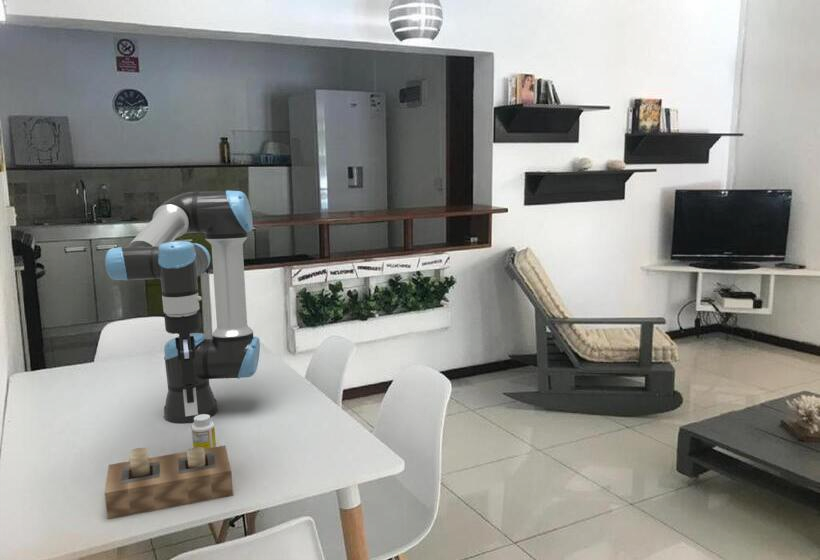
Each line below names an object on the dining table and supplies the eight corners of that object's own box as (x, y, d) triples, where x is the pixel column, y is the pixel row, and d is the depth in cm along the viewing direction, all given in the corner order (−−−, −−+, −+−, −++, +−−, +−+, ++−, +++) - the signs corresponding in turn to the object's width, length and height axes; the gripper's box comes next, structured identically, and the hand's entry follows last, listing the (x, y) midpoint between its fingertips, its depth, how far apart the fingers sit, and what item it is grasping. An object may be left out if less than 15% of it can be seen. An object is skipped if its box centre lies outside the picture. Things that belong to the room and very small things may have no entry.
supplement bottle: (208, 447, 178) (205, 411, 176) (221, 453, 175) (217, 416, 173) (189, 455, 174) (186, 417, 172) (202, 461, 171) (198, 423, 169)
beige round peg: (131, 482, 151) (129, 456, 150) (132, 474, 154) (129, 449, 153) (150, 478, 152) (147, 453, 151) (150, 471, 156) (147, 446, 154)
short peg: (189, 480, 155) (187, 455, 154) (188, 472, 159) (186, 448, 157) (206, 477, 156) (204, 452, 155) (205, 469, 160) (203, 445, 159)
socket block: (107, 519, 145) (104, 493, 144) (111, 488, 158) (108, 464, 157) (233, 495, 154) (231, 470, 153) (227, 468, 167) (225, 445, 166)
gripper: (201, 317, 145) (210, 422, 149) (198, 304, 157) (206, 402, 162) (164, 321, 142) (174, 427, 147) (163, 308, 155) (173, 406, 159)
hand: (191, 414), depth 154 cm, fingers closed
